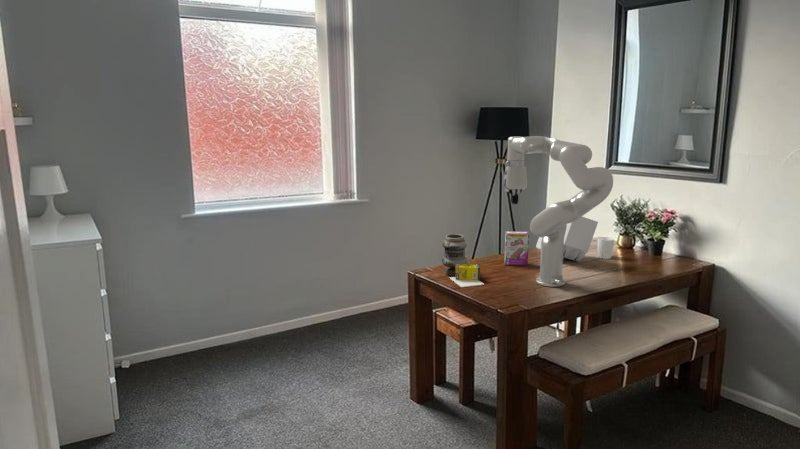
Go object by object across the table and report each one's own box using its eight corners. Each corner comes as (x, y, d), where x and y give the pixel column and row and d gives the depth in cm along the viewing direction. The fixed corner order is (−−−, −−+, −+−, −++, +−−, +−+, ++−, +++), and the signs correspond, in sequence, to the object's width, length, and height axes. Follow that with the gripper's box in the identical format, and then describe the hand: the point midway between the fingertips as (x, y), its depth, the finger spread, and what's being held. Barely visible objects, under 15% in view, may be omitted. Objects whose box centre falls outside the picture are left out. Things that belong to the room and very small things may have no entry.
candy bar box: (505, 265, 267) (506, 233, 263) (504, 262, 272) (505, 231, 268) (528, 265, 266) (529, 233, 262) (526, 263, 271) (527, 231, 267)
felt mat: (484, 284, 238) (484, 284, 238) (461, 287, 235) (461, 286, 235) (471, 275, 251) (471, 275, 251) (449, 278, 248) (449, 277, 248)
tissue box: (532, 252, 280) (547, 206, 278) (555, 259, 286) (570, 214, 284) (557, 262, 261) (574, 213, 259) (581, 269, 268) (598, 221, 266)
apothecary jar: (447, 277, 250) (447, 239, 246) (438, 270, 261) (438, 233, 258) (471, 274, 253) (471, 237, 249) (461, 267, 264) (461, 232, 261)
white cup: (593, 256, 281) (594, 237, 279) (604, 254, 284) (605, 236, 282) (604, 260, 274) (605, 241, 272) (616, 258, 277) (617, 239, 275)
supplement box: (479, 267, 242) (455, 267, 243) (479, 280, 243) (455, 279, 245) (479, 263, 248) (455, 263, 249) (479, 276, 249) (455, 276, 250)
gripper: (504, 165, 240) (503, 205, 244) (534, 163, 244) (533, 203, 248) (497, 163, 247) (496, 203, 251) (526, 162, 251) (524, 201, 255)
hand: (514, 203), depth 249 cm, fingers closed
